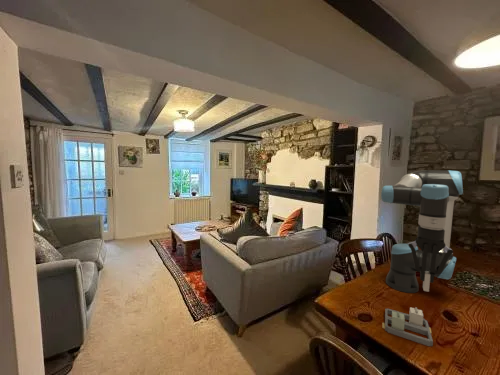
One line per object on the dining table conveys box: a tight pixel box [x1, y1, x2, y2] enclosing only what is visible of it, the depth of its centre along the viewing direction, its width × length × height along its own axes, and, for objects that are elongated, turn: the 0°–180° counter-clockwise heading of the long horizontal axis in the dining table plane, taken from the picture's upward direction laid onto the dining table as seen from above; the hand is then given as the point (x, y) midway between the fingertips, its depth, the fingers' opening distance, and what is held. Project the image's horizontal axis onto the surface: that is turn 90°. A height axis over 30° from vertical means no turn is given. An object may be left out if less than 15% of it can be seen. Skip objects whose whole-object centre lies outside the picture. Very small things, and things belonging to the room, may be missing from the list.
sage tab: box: [390, 310, 406, 331], centre depth 87 cm, size 4×4×7 cm
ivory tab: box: [408, 306, 424, 327], centre depth 90 cm, size 4×4×7 cm
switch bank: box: [381, 308, 434, 347], centre depth 89 cm, size 14×17×3 cm
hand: (425, 289), depth 82 cm, fingers closed
